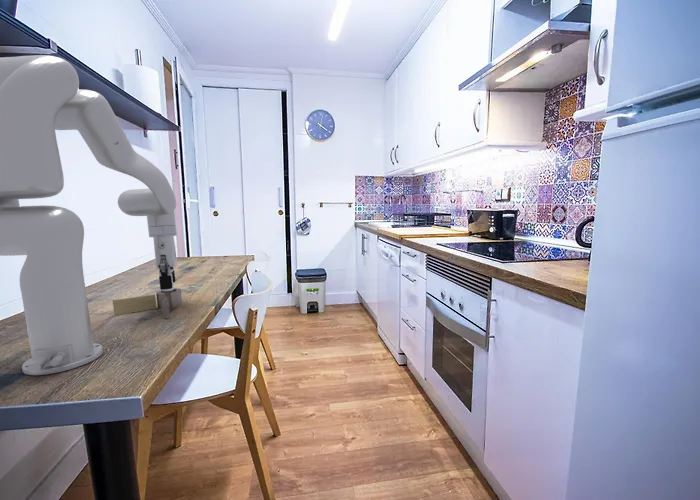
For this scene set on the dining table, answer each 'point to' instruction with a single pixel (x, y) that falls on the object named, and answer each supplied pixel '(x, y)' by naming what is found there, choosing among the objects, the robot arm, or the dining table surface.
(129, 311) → the hinge leaf
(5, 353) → the dining table surface
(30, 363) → the robot arm
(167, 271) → the pin
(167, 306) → the hinge leaf
